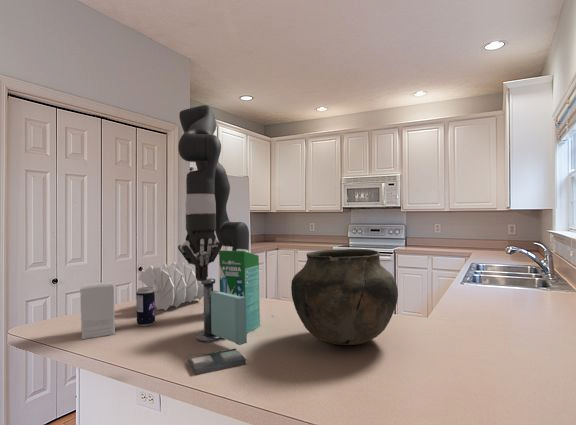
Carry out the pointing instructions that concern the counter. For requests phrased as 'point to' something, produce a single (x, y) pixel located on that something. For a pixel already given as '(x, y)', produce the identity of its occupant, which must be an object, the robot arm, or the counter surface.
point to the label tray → (216, 361)
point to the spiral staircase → (173, 284)
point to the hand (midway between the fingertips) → (201, 280)
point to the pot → (344, 295)
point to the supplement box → (97, 310)
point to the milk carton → (242, 281)
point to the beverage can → (145, 306)
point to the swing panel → (228, 317)
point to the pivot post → (207, 313)
